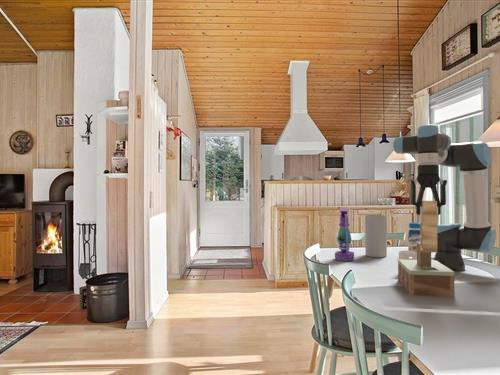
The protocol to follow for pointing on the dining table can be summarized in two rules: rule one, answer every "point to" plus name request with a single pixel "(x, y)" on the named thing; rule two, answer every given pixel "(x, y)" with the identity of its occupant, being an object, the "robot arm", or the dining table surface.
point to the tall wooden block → (428, 227)
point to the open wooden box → (426, 284)
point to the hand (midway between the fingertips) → (428, 222)
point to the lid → (425, 265)
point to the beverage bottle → (413, 236)
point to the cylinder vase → (376, 235)
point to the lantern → (344, 239)
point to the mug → (407, 255)
